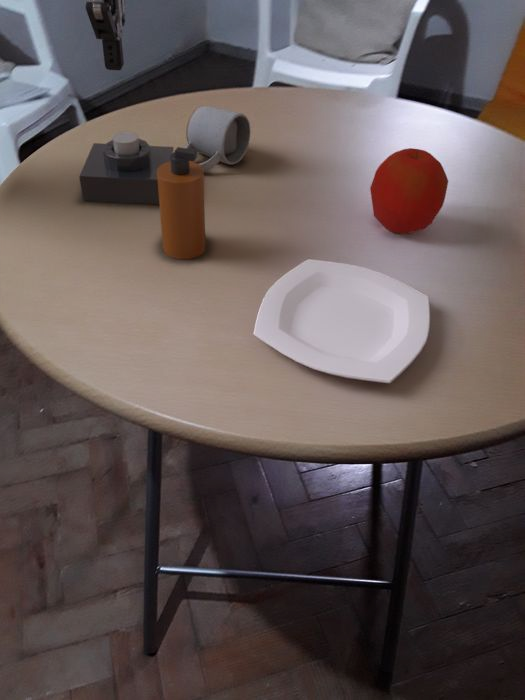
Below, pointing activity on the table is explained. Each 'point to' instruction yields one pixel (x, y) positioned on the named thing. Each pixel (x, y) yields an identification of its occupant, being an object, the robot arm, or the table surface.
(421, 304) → the plate
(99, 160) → the push button base
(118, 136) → the white push button
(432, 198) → the apple
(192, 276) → the table surface
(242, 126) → the ceramic mug
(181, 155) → the soap bottle
